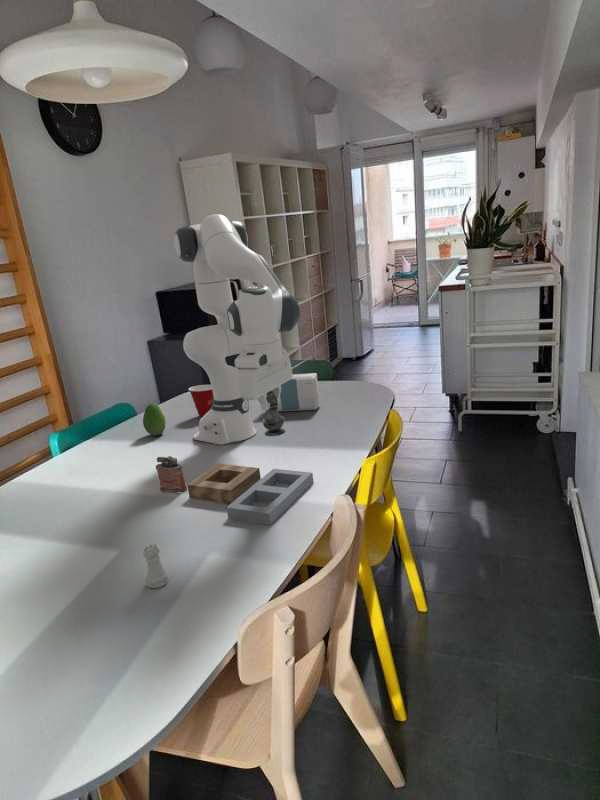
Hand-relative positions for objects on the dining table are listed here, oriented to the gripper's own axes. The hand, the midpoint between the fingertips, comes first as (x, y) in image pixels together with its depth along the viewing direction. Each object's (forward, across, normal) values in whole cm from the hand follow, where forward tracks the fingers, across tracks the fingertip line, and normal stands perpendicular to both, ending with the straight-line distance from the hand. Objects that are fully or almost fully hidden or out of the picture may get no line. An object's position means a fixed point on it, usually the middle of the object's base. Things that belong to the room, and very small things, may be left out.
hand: (271, 406), depth 138 cm
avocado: (+23, -30, -70) cm, 79 cm away
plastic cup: (+23, -53, -64) cm, 86 cm away
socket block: (+23, +3, -16) cm, 28 cm away
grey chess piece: (+7, 0, 0) cm, 7 cm away
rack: (+23, +5, 0) cm, 24 cm away
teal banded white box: (+23, -65, -31) cm, 75 cm away
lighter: (+23, +7, -31) cm, 39 cm away
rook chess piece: (+24, +43, -5) cm, 50 cm away
